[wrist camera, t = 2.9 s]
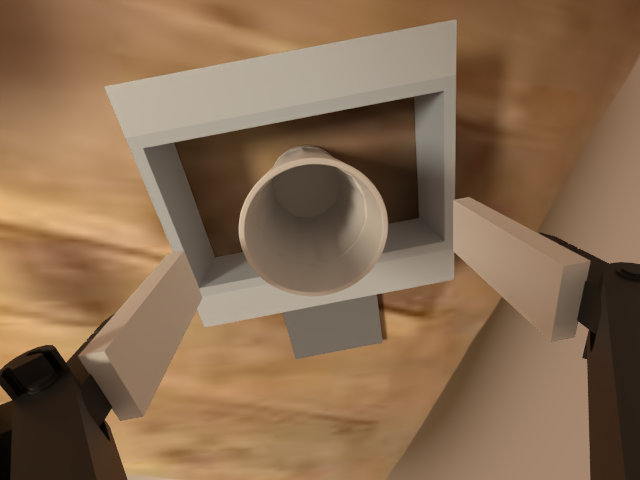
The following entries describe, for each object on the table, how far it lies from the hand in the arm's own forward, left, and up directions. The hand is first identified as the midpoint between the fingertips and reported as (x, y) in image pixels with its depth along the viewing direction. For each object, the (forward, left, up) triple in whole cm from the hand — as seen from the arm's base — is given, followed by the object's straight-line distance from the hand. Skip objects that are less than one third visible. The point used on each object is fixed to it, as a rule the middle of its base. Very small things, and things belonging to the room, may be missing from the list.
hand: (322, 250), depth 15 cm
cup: (0, 0, -14) cm, 14 cm away
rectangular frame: (0, 0, -14) cm, 14 cm away
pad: (+14, 0, -14) cm, 20 cm away
